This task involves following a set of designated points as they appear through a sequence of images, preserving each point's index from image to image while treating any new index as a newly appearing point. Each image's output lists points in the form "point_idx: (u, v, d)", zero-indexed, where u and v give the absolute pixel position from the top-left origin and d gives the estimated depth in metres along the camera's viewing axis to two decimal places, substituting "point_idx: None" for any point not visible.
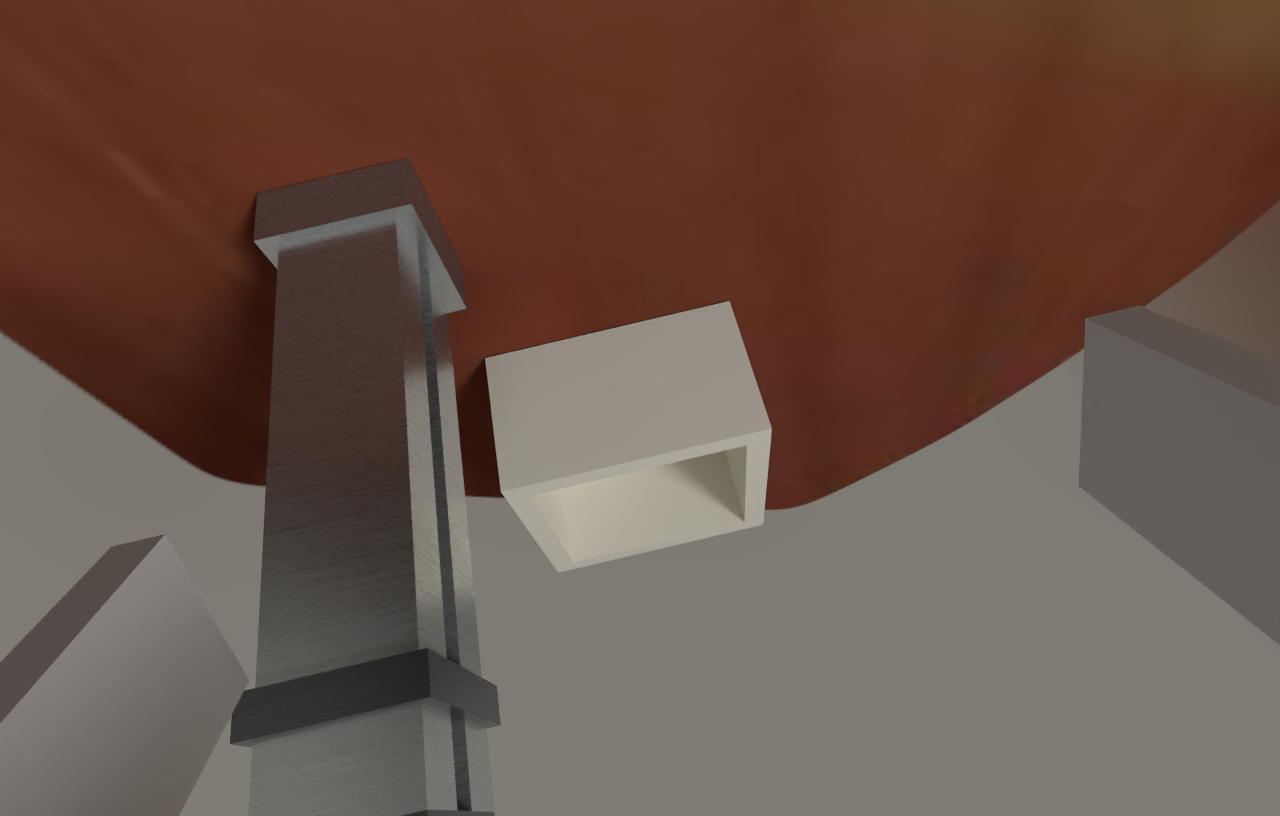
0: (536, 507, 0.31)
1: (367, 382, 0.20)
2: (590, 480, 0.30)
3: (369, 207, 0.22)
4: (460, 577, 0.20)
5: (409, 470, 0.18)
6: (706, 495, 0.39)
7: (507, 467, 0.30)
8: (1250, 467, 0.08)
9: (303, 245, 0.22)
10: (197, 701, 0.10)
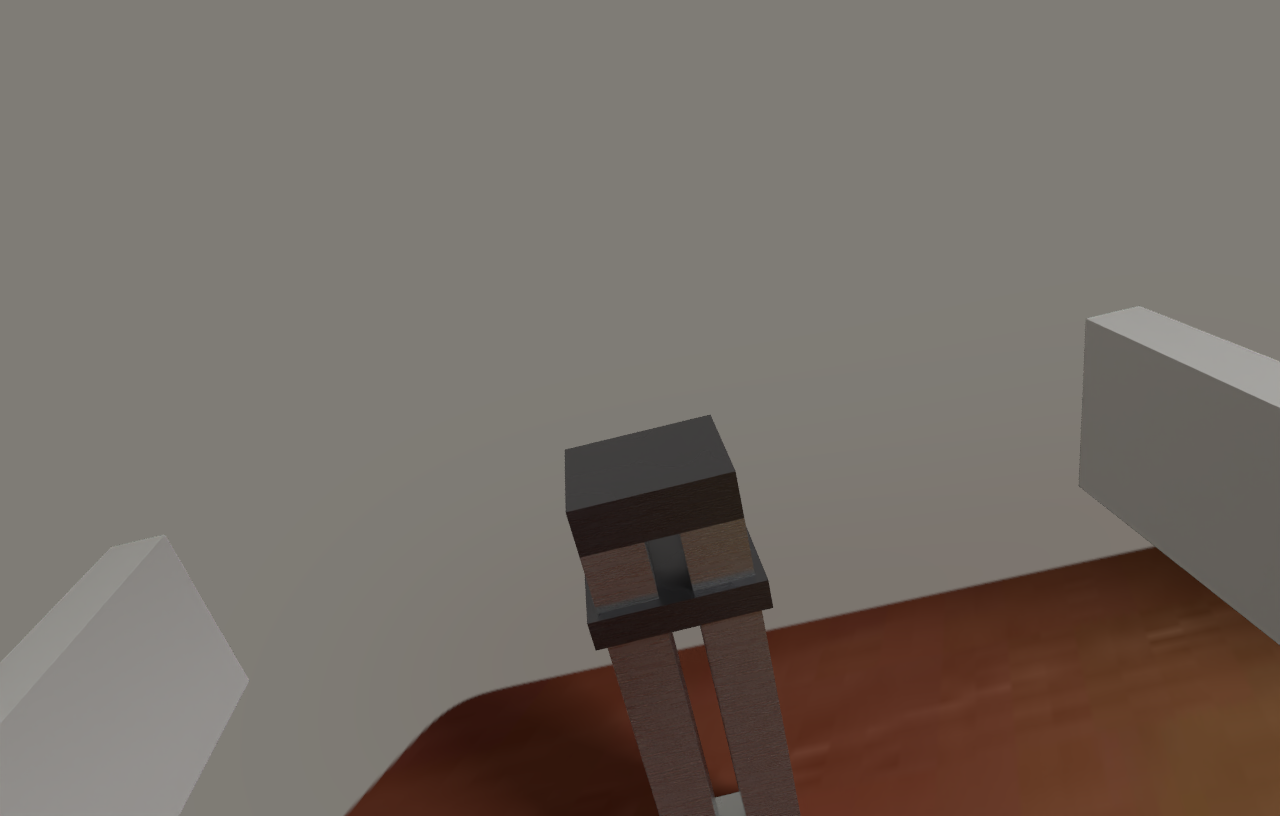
0: None
1: None
2: None
3: None
4: (662, 699, 0.23)
5: (779, 713, 0.23)
6: None
7: None
8: (1249, 466, 0.08)
9: None
10: (197, 701, 0.10)
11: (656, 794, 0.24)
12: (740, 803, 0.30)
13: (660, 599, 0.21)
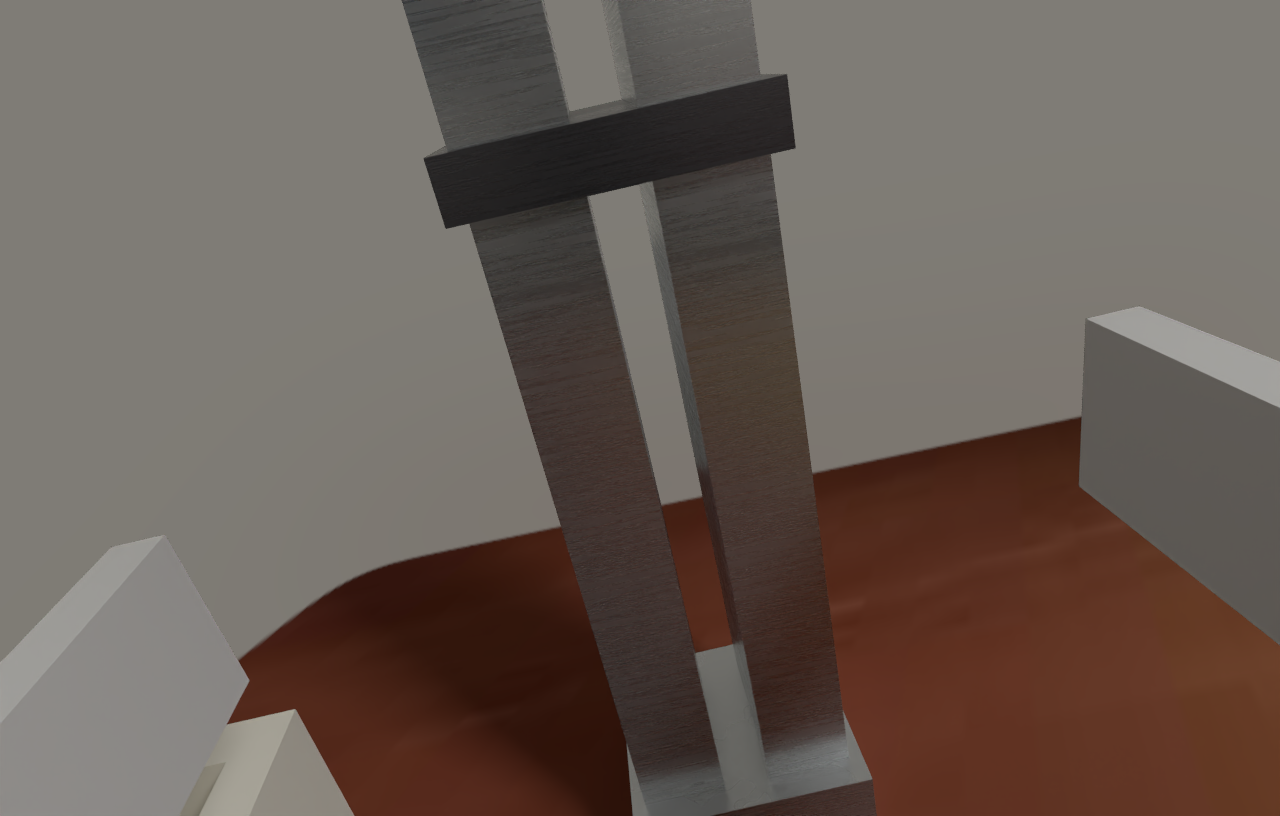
0: None
1: None
2: None
3: (852, 739, 0.17)
4: (585, 369, 0.12)
5: (801, 415, 0.13)
6: None
7: (308, 759, 0.15)
8: (1249, 466, 0.08)
9: None
10: (197, 701, 0.10)
11: (582, 576, 0.14)
12: (733, 659, 0.20)
13: (572, 122, 0.11)
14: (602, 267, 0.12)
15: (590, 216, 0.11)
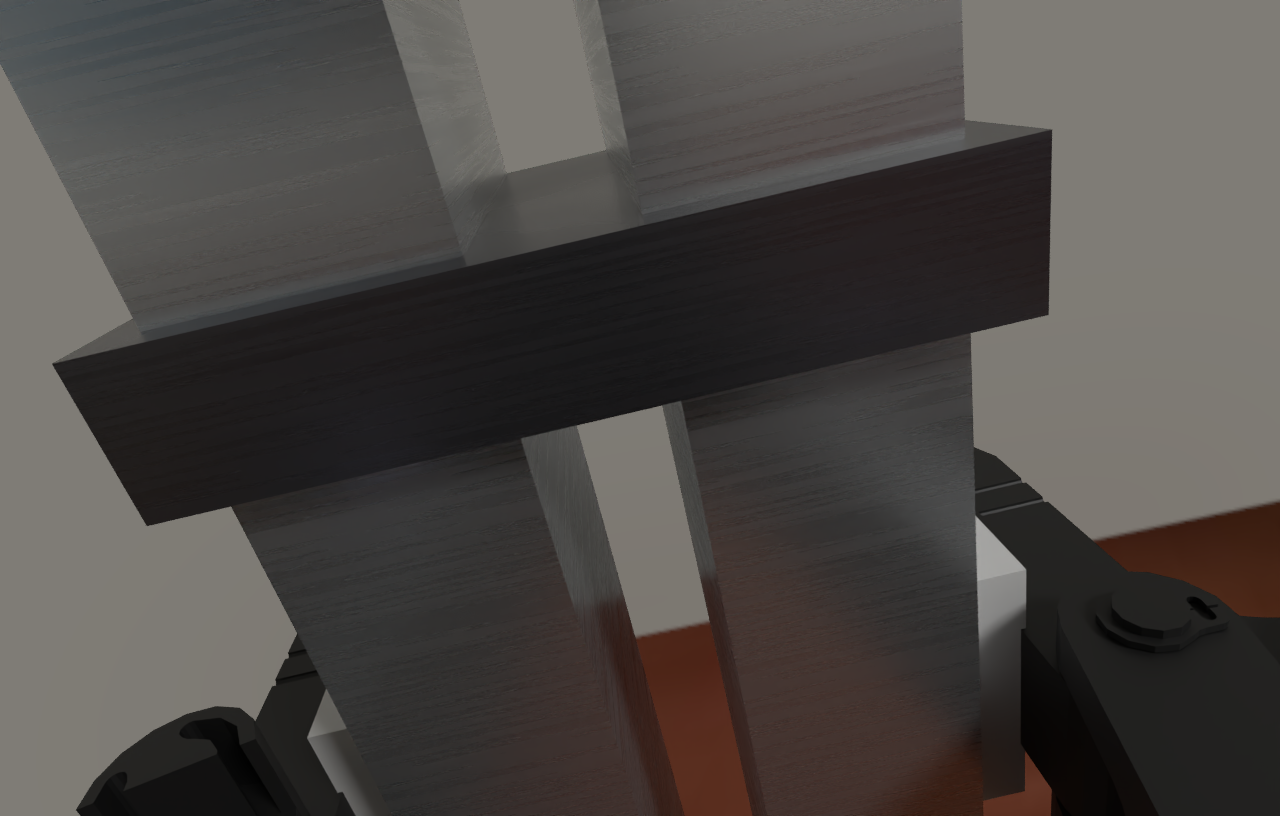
0: None
1: None
2: None
3: None
4: (527, 756, 0.06)
5: (978, 806, 0.06)
6: None
7: None
8: None
9: None
10: None
11: None
12: None
13: (469, 255, 0.04)
14: (559, 569, 0.05)
15: (526, 468, 0.05)
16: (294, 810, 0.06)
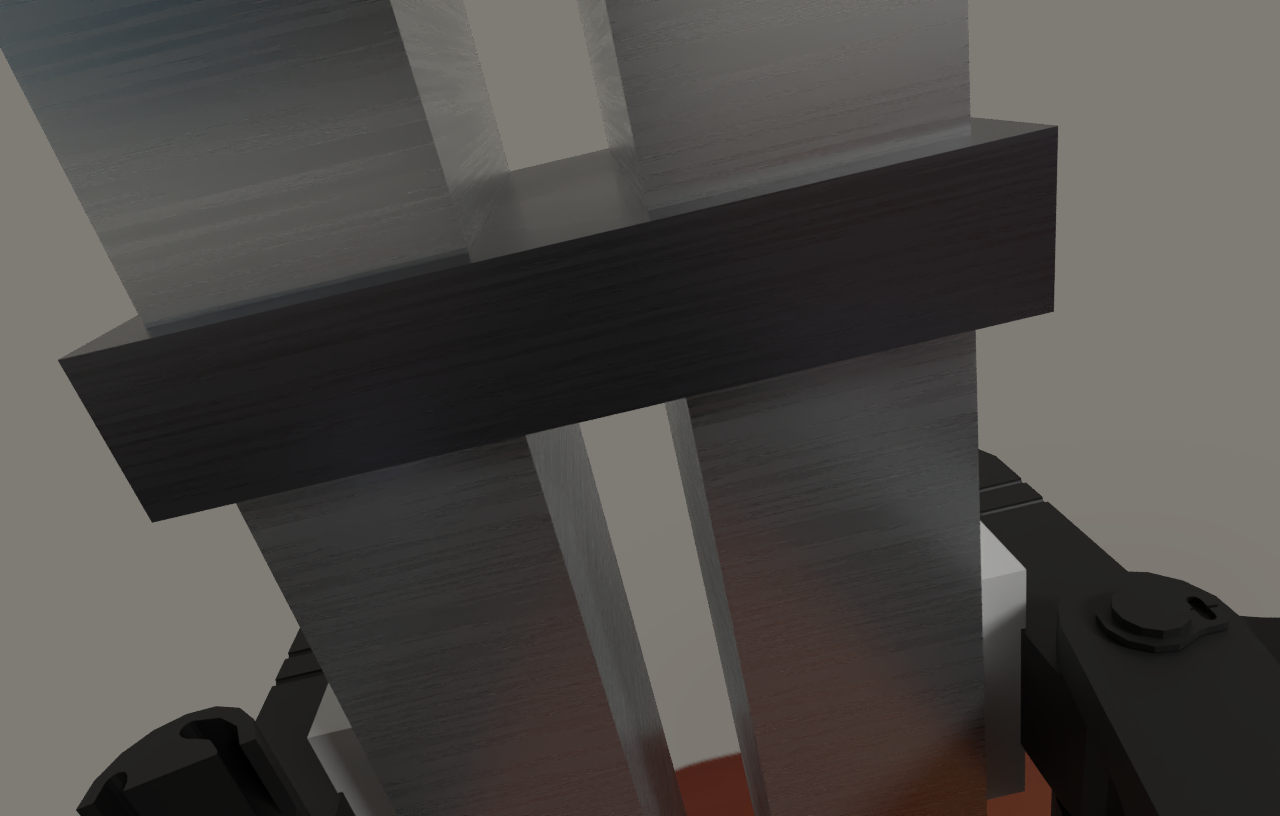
0: None
1: None
2: None
3: None
4: (531, 754, 0.06)
5: (981, 805, 0.06)
6: None
7: None
8: None
9: None
10: None
11: None
12: None
13: (474, 251, 0.04)
14: (563, 566, 0.05)
15: (530, 465, 0.05)
16: (294, 810, 0.06)
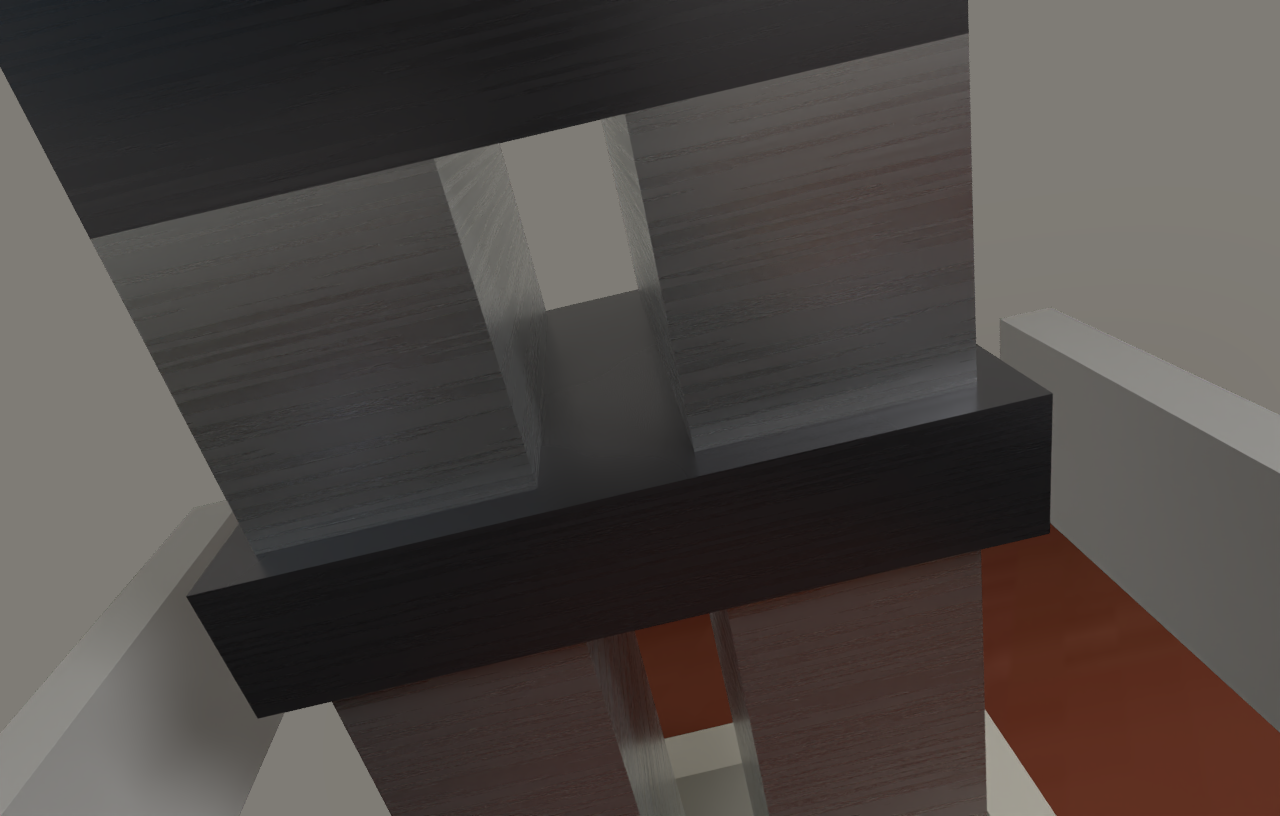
0: None
1: None
2: None
3: None
4: None
5: None
6: None
7: None
8: (1130, 457, 0.09)
9: None
10: None
11: None
12: None
13: (543, 489, 0.05)
14: (611, 730, 0.06)
15: (585, 653, 0.05)
16: None
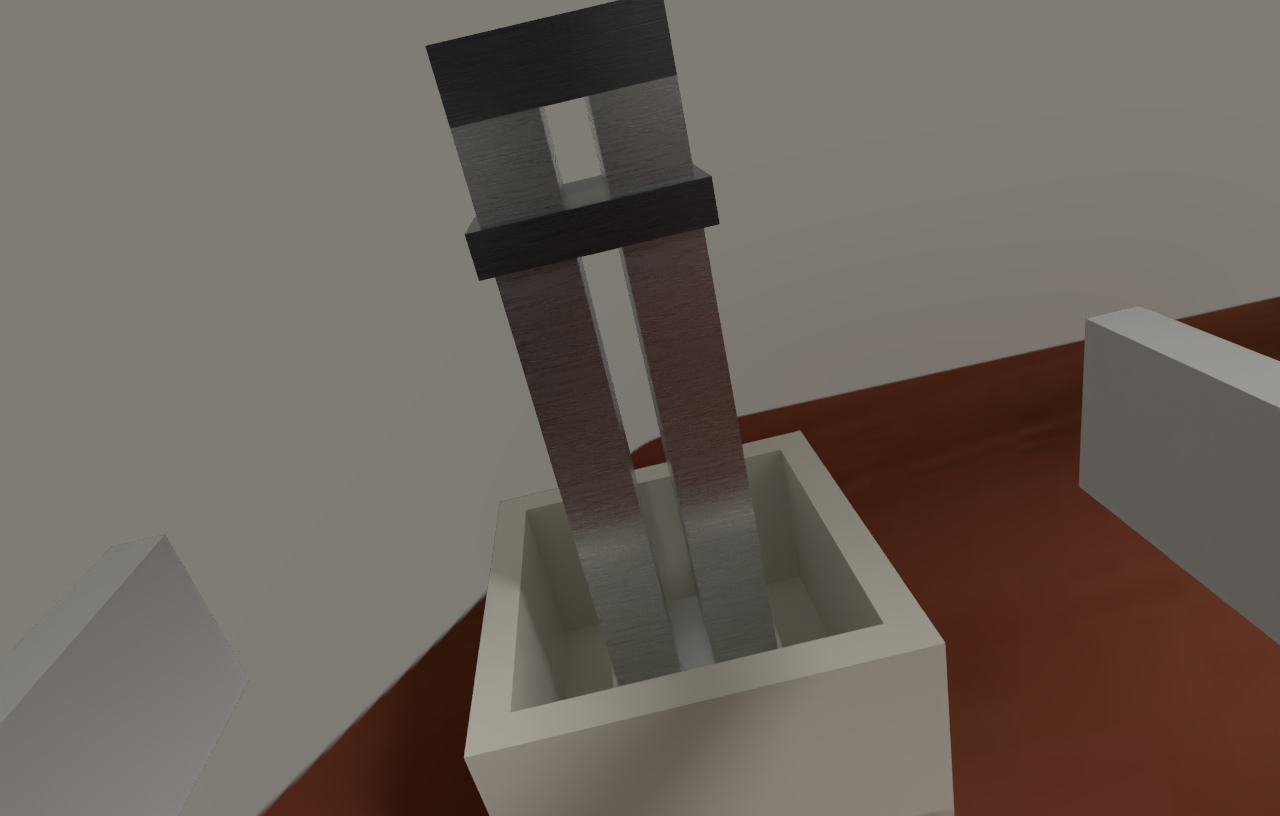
0: (745, 456, 0.26)
1: None
2: (806, 484, 0.23)
3: None
4: (576, 376, 0.17)
5: (733, 408, 0.18)
6: None
7: None
8: (1249, 467, 0.08)
9: None
10: (197, 701, 0.10)
11: (575, 529, 0.19)
12: (697, 605, 0.25)
13: (566, 208, 0.16)
14: (587, 305, 0.17)
15: (579, 270, 0.16)
16: None
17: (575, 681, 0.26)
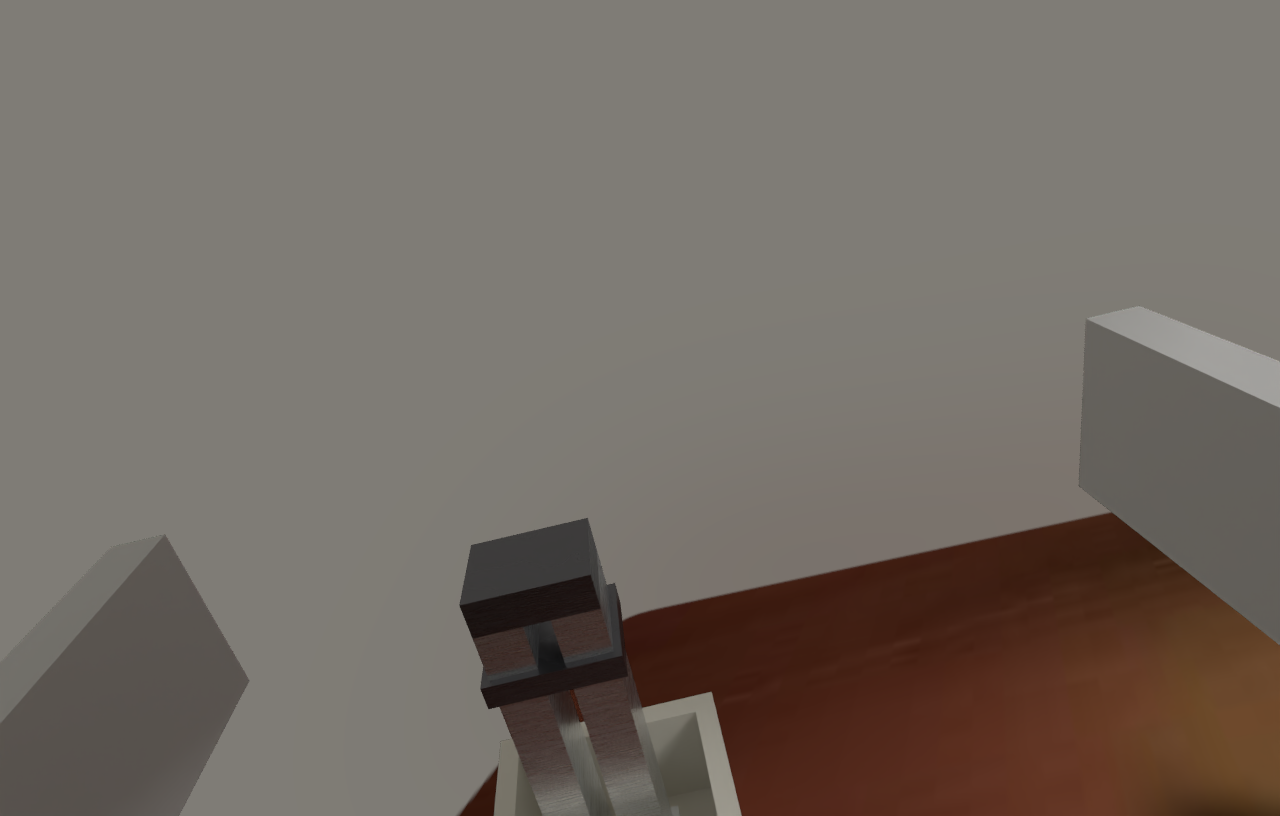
0: (671, 715, 0.37)
1: (655, 783, 0.31)
2: (707, 752, 0.35)
3: None
4: (546, 745, 0.28)
5: (643, 756, 0.29)
6: None
7: None
8: (1249, 466, 0.08)
9: None
10: (197, 701, 0.10)
11: None
12: None
13: (538, 669, 0.27)
14: (552, 711, 0.28)
15: (547, 696, 0.27)
16: None
17: None
